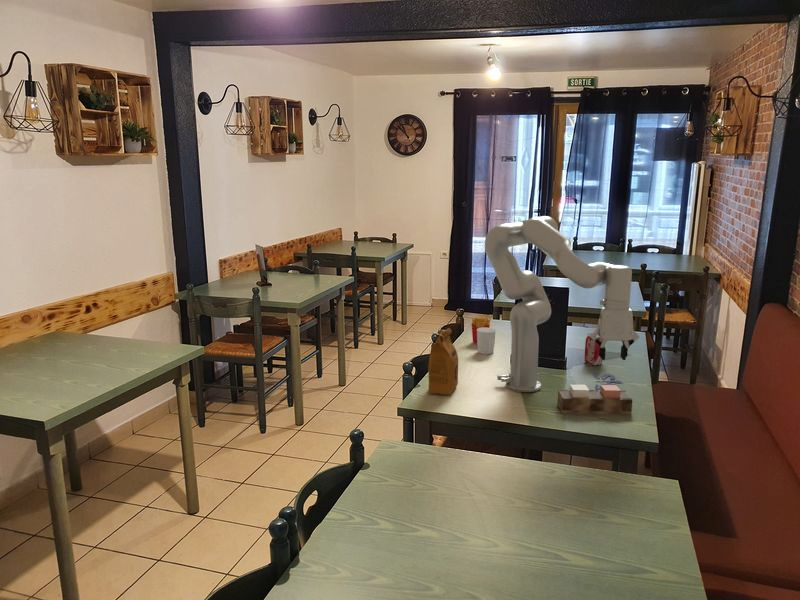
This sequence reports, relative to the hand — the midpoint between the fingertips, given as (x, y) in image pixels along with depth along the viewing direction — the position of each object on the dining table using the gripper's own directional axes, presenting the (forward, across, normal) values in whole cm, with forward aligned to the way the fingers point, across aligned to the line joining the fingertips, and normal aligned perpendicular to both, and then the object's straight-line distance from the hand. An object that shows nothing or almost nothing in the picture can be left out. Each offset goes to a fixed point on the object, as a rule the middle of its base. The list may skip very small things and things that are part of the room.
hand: (612, 358), depth 196 cm
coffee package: (+18, -54, +15) cm, 59 cm away
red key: (+14, 0, 0) cm, 14 cm away
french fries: (+18, -36, +75) cm, 85 cm away
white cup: (+18, -35, +61) cm, 73 cm away
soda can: (+18, +7, +47) cm, 51 cm away
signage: (+18, +6, +20) cm, 28 cm away
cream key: (+14, -10, 0) cm, 17 cm away
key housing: (+18, -5, 0) cm, 18 cm away
